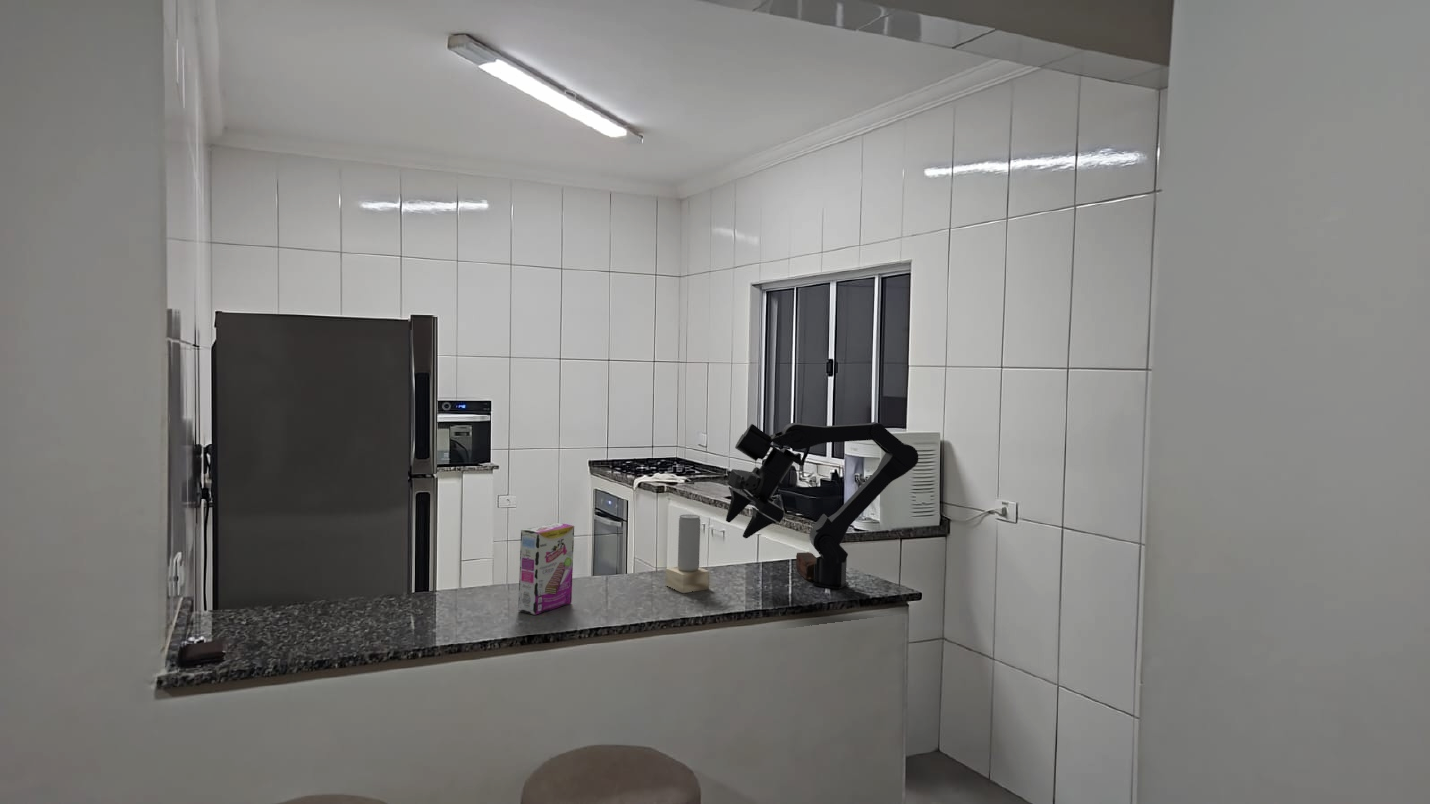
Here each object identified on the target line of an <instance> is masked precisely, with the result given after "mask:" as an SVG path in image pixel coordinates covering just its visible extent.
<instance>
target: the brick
mask: <svg viewBox="0 0 1430 804" xmlns="http://www.w3.org/2000/svg"><path fill="white" fill-rule="evenodd" d="M795 557H796V559H795V567H796V571H797V572H798V574H799V575H800V576H801V577H802V578H803V579H804V580H805V581H808V582H809V581H814V564H815V563H816V560H817V557H818V556H817V557H816V556H815V554H814V553H812V552H807V551H806V552H796V555H795Z"/></svg>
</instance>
